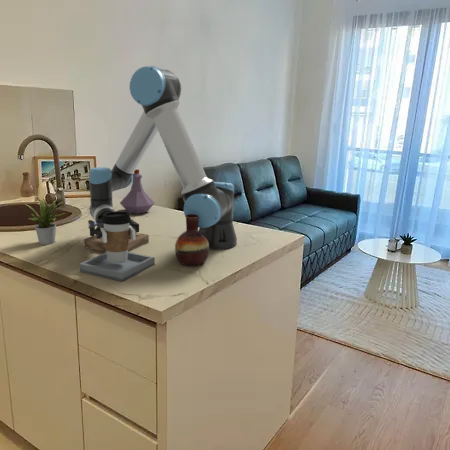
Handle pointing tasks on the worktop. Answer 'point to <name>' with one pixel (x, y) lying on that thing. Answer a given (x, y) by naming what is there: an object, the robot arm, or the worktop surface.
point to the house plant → (45, 223)
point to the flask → (137, 197)
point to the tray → (117, 266)
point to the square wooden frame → (100, 245)
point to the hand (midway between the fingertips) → (120, 236)
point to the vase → (192, 243)
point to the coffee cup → (117, 235)
